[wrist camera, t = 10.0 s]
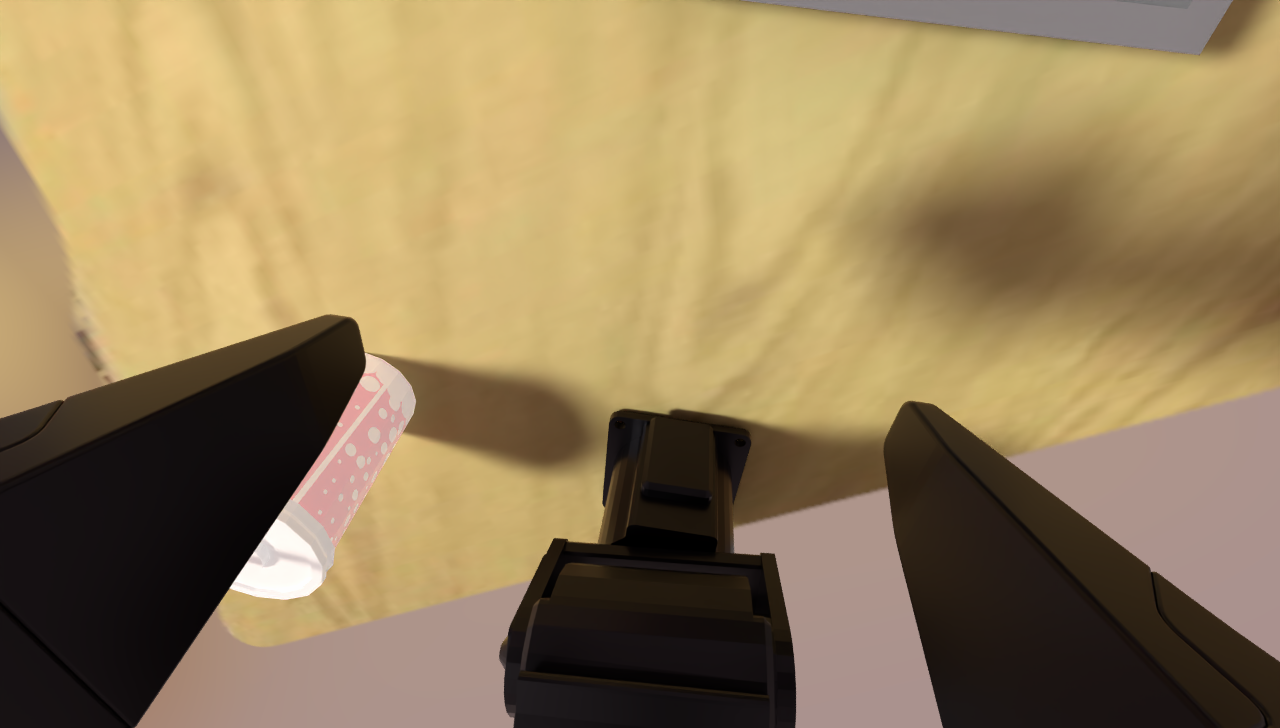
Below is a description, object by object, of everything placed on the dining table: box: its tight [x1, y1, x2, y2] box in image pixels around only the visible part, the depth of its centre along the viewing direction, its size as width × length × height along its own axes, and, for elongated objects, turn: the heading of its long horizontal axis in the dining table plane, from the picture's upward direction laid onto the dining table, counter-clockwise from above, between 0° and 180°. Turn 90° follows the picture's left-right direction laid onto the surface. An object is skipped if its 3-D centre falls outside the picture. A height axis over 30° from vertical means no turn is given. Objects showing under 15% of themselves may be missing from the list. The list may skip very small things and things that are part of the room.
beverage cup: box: [229, 353, 416, 600], centre depth 20 cm, size 6×6×14 cm
